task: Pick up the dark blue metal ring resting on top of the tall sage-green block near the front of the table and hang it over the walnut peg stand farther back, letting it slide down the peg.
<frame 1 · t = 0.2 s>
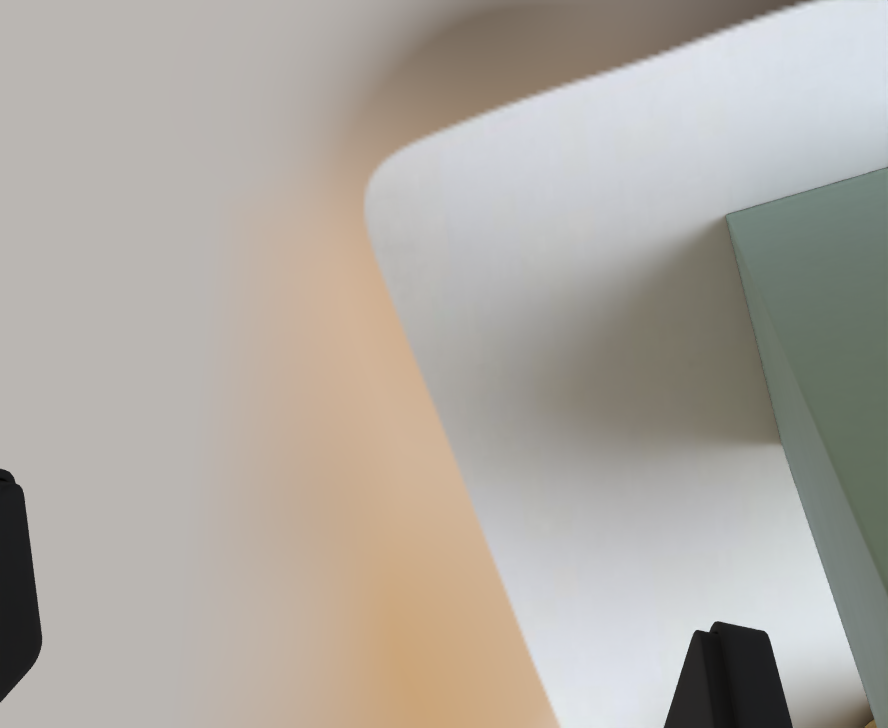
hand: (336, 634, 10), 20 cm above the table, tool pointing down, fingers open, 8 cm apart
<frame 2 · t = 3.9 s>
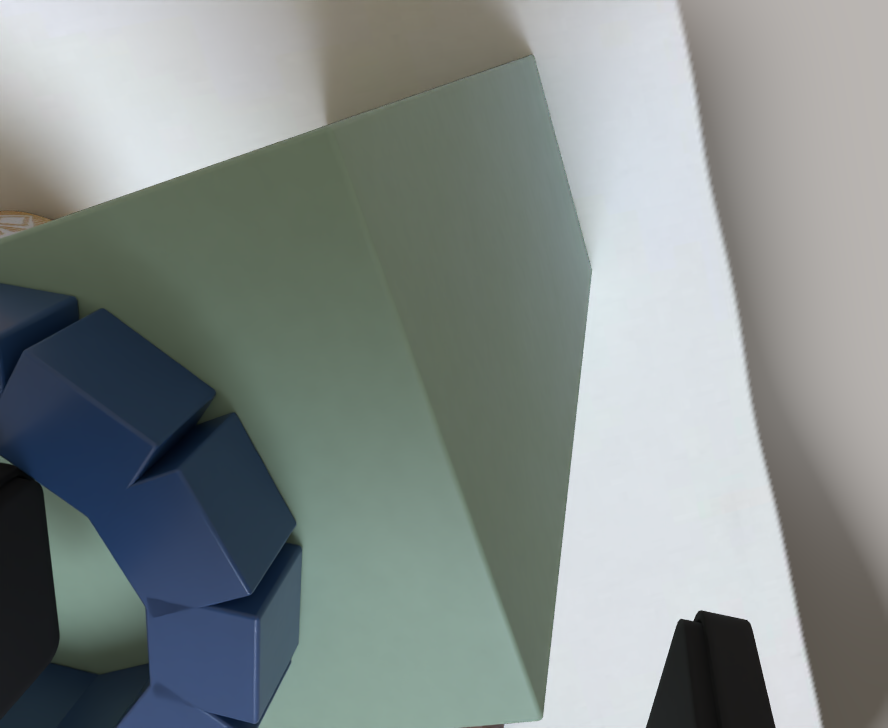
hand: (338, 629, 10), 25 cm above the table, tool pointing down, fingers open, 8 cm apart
planter: (50, 314, 40), on the table
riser: (459, 199, 33), on the table
ring: (46, 538, 12), point 24 cm above the table, touching gripper, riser
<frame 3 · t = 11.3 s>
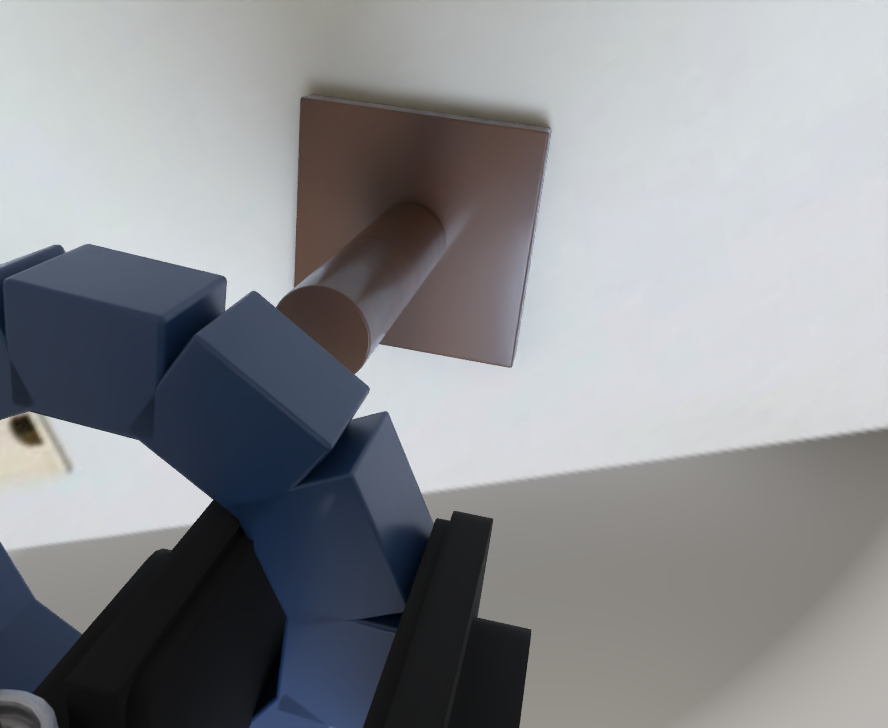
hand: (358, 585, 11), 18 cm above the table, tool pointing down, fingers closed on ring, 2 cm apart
stand: (417, 231, 27), on the table
ring: (150, 530, 12), point 18 cm above the table, touching gripper
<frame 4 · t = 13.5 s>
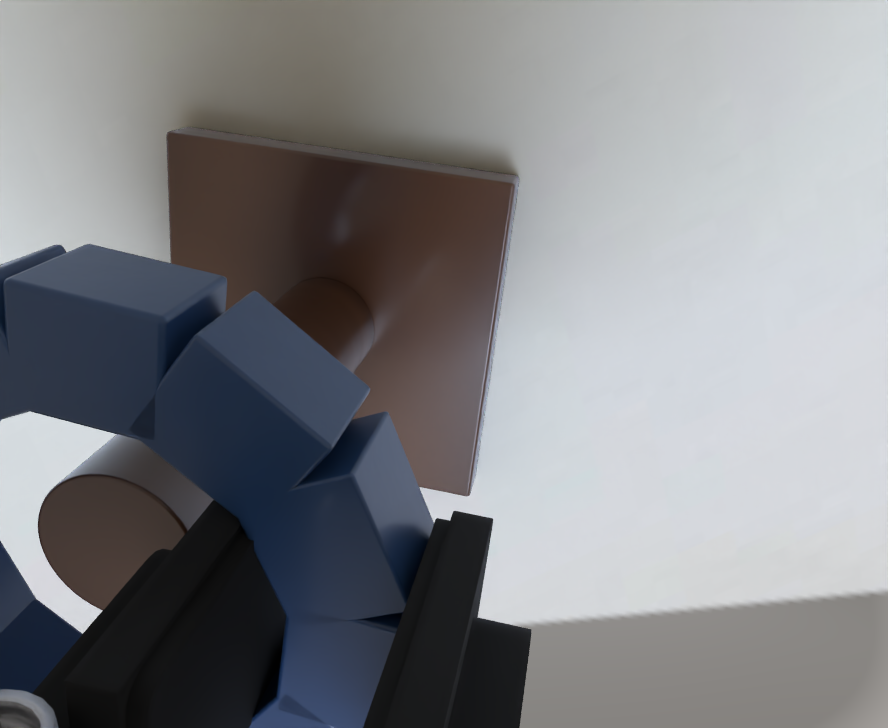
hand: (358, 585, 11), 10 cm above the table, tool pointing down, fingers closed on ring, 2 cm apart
stand: (339, 311, 20), on the table
ring: (151, 530, 12), point 9 cm above the table, touching gripper
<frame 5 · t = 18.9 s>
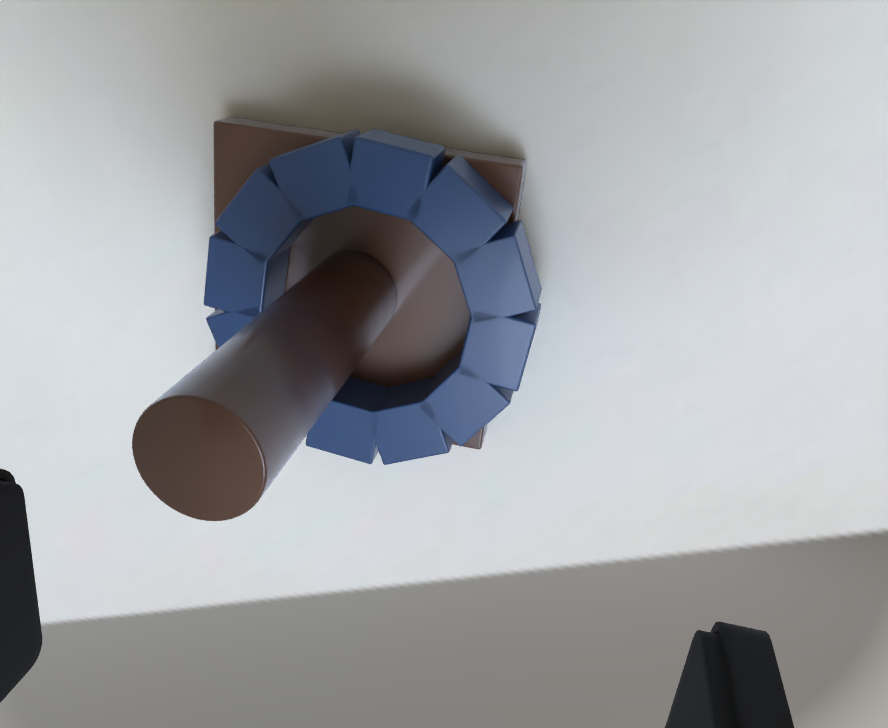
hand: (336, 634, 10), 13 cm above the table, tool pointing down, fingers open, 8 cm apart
stand: (364, 283, 22), on the table
ring: (380, 294, 21), point 1 cm above the table, touching stand
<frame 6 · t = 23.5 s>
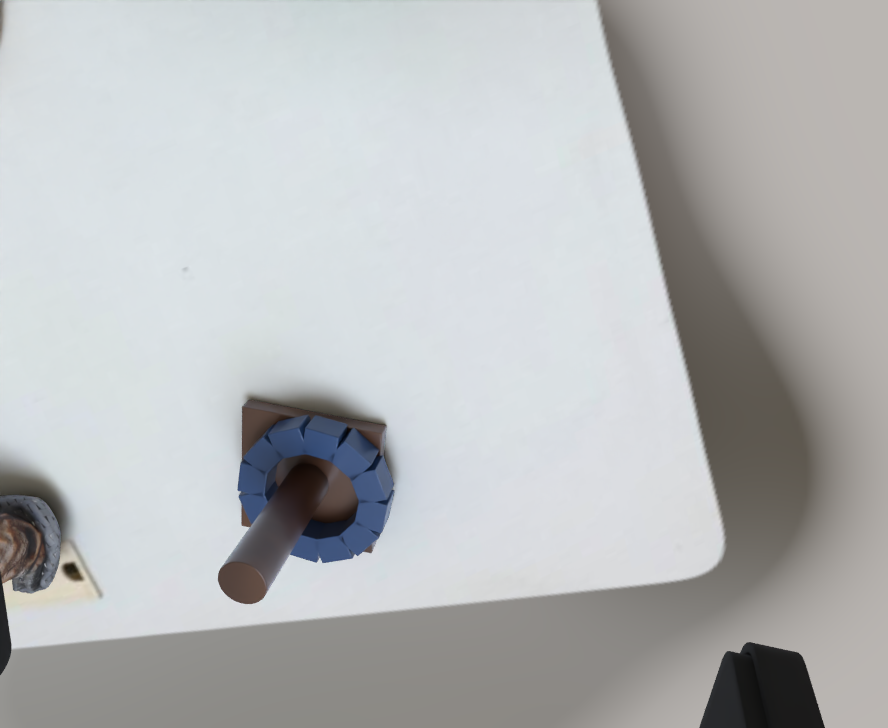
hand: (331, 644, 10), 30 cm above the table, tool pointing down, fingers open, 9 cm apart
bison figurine: (5, 528, 53), on the table
stand: (314, 473, 46), on the table
ring: (320, 482, 45), point 1 cm above the table, touching stand
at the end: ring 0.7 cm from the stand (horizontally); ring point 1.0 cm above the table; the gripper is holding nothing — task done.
